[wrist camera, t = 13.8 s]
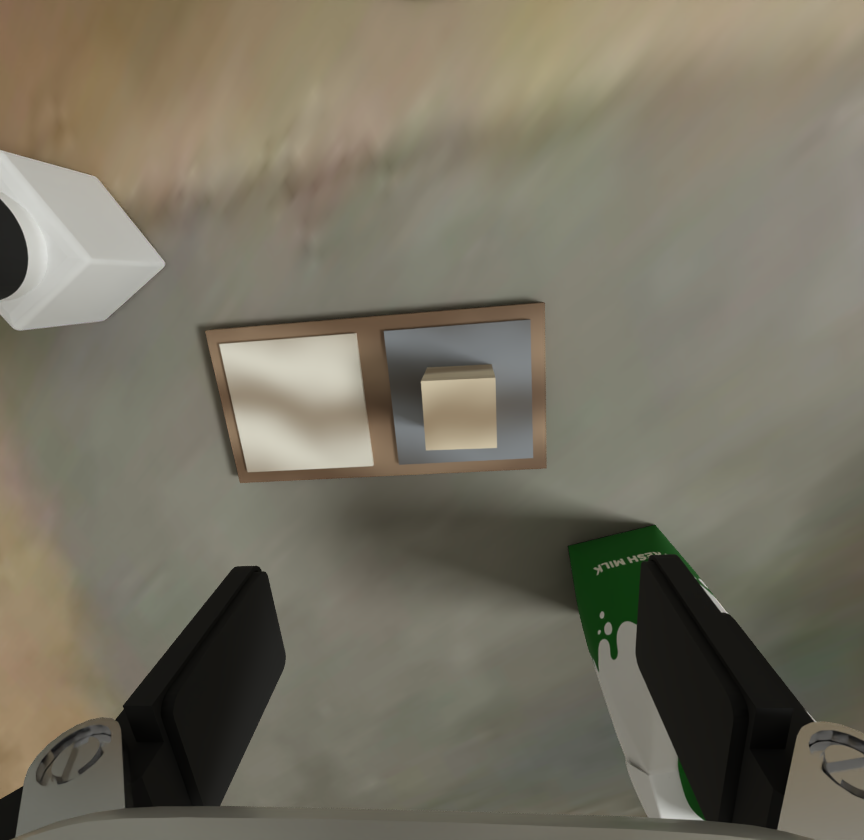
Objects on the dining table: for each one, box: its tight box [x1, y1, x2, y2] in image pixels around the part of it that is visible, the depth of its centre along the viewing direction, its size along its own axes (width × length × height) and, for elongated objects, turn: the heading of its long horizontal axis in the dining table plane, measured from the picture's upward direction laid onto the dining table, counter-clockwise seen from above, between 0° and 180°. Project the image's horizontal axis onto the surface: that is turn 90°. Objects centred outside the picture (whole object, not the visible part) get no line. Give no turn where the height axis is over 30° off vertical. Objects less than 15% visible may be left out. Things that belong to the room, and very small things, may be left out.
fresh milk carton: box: [568, 525, 816, 821], centre depth 27 cm, size 9×9×20 cm
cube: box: [421, 364, 497, 450], centre depth 30 cm, size 4×4×4 cm
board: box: [205, 302, 546, 483], centre depth 33 cm, size 12×24×1 cm, turn 95°
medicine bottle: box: [0, 150, 165, 330], centre depth 26 cm, size 7×7×12 cm
